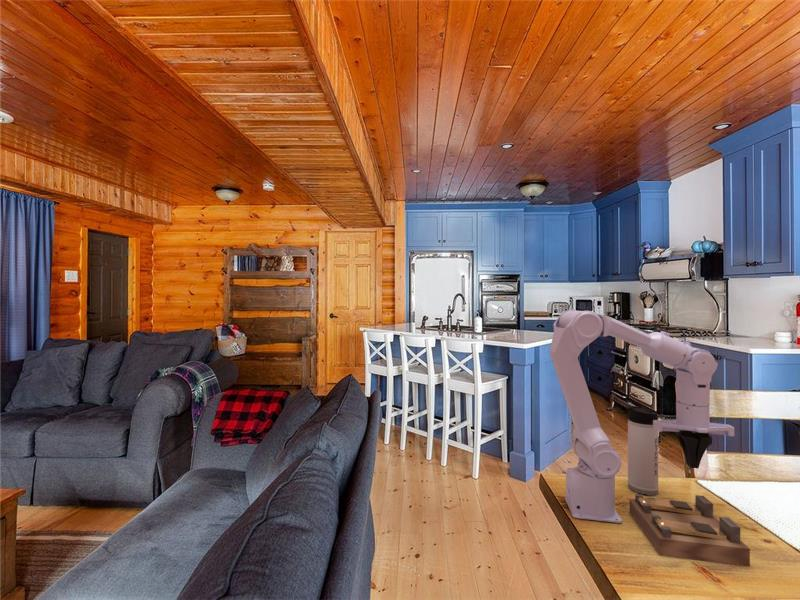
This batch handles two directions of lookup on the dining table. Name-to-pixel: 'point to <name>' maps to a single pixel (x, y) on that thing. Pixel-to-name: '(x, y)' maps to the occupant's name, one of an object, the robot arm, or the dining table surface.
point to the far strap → (671, 506)
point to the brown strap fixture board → (691, 544)
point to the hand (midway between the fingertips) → (692, 466)
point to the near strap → (692, 529)
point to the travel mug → (642, 450)
